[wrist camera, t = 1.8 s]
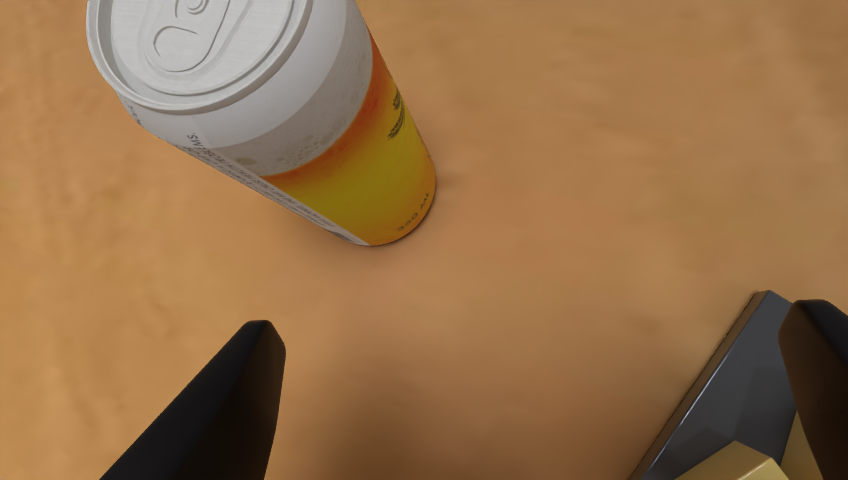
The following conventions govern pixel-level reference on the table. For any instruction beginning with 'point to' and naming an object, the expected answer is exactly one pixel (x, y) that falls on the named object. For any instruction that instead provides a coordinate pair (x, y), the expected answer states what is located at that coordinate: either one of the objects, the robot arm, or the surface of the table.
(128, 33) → the beer can
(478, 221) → the table surface
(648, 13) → the table surface
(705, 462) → the cheese
